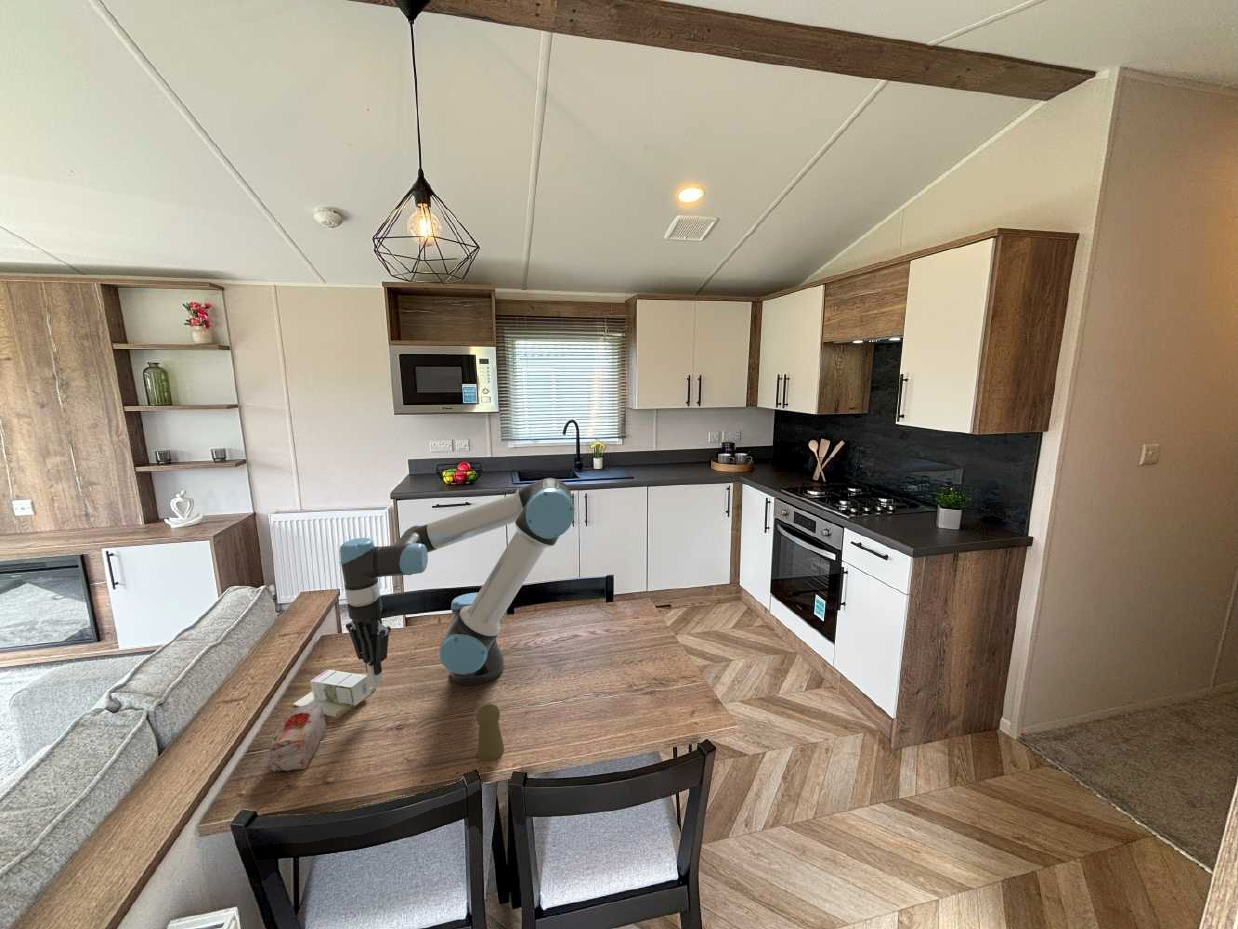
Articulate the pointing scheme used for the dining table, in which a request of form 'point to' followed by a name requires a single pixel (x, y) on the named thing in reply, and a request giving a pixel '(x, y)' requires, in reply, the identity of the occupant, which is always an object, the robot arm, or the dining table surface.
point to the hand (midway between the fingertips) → (376, 684)
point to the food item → (298, 739)
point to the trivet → (326, 705)
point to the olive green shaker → (489, 733)
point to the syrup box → (340, 687)
